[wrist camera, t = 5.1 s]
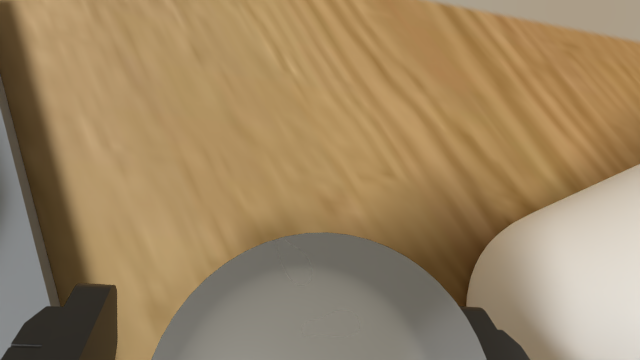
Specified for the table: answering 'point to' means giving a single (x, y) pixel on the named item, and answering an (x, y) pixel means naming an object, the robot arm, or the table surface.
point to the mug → (569, 275)
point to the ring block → (19, 240)
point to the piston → (319, 307)
